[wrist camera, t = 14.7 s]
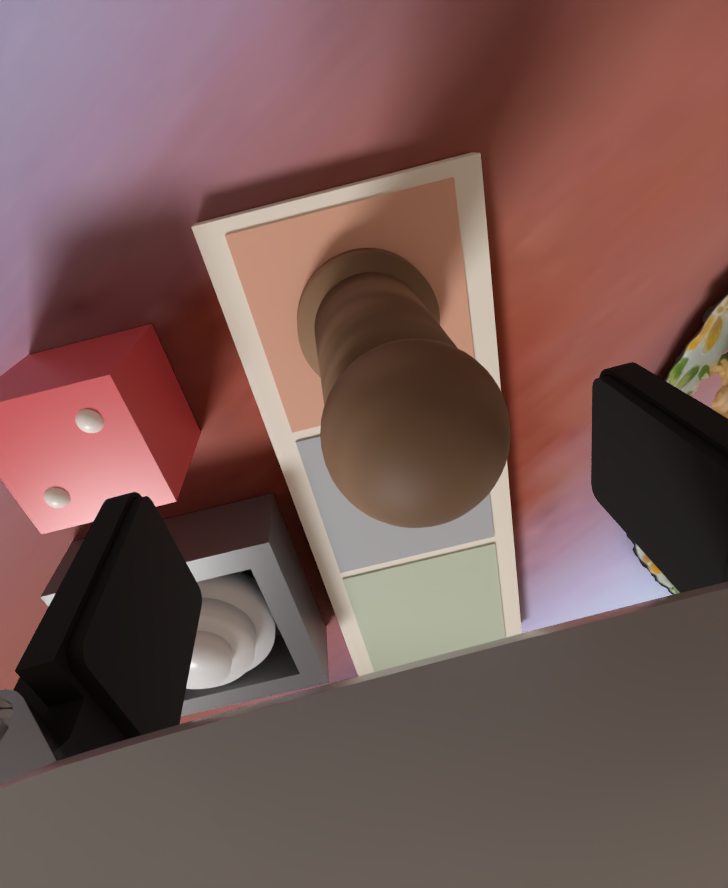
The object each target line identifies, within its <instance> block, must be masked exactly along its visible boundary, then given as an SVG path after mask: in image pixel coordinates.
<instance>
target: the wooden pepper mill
mask: <svg viewBox="0 0 728 888" xmlns="http://www.w3.org/2000/svg"><path fill="white" fill-rule="evenodd" d="M297 330H298V339H299V343H300V347H301V350H302V352H303V355H304V357H305V359H306V361H307V362H308V364H309V365H310V367H311V368H312V369H313V371H314V372H315V373H316V374H317V375H318V376H319V377H320V378H321V385H322V392H323V400H324V409H323V413H322V418H321V430H320V440H321V449H322V453H323V457H324V461H325V465H326V467H327V469H328V472H329V474H330V476H331V478H332V480H333V482H334V483H335V485H336V486H337V488H338V489H339V490H340V492H341V493H342V494H343V495H344V496H345V497H346V499H347V500H348V501H349V502H350V503H351V504H353V505H354V506H355V507H356V508H357V509H359V510H360V511H362V512H363V513H365V514H366V515H368V516H369V517H372V518H374V519H376V520H378V521H381V522H384V523H387V524H390V525H393V526H398V527H405V528H425V527H433V526H437V525H441V524H445V523H448V522H450V521H453V520H455V519H457V518H459V517H461V516H463V515H465V514H466V513H468V512H469V511H470V510H472V509H473V508H474V507H476V506H477V505H478V504H479V503H480V502H482V501H483V500H484V498H485V497H486V496H487V495H488V494H489V493H490V492H491V490H492V489H493V488H494V486H495V485H496V483H497V481H498V480H499V478H500V476H501V474H502V472H503V469H504V467H505V465H506V461H507V458H508V454H509V448H510V441H511V427H510V418H509V412H508V409H507V406H506V403H505V400H504V397H503V394H502V392H501V390H500V389H499V387H498V385H497V383H496V382H495V380H494V379H493V377H492V376H491V375H490V373H489V372H488V371H487V370H486V369H485V368H484V367H483V366H482V365H481V364H480V363H479V362H478V361H477V360H476V359H474V358H473V357H472V356H470V355H469V354H467V353H466V352H464V351H462V350H460V349H458V348H457V346H456V345H455V344H454V343H453V341H452V340H451V339H450V338H449V336H448V335H447V334H446V333H445V331H444V330H443V329H442V327H441V326H440V311H439V306H438V302H437V299H436V296H435V293H434V291H433V289H432V287H431V286H430V284H429V283H428V281H427V280H426V279H425V277H424V276H423V275H422V274H421V273H420V272H419V271H418V270H417V269H416V268H415V267H414V266H413V265H412V264H411V263H410V262H409V261H407V260H406V259H405V258H403V257H401V256H399V255H397V254H395V253H393V252H390V251H387V250H383V249H378V248H358V249H353V250H349V251H346V252H343V253H340V254H338V255H336V256H334V257H332V258H331V259H329V260H328V261H327V262H325V263H324V264H323V265H321V266H320V267H319V268H318V269H317V270H316V271H315V272H314V274H313V275H312V276H311V277H310V279H309V280H308V282H307V284H306V285H305V287H304V289H303V292H302V294H301V297H300V300H299V304H298V310H297Z"/></svg>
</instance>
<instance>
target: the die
mask: <svg viewBox="0 0 728 888" xmlns="http://www.w3.org/2000/svg"><path fill="white" fill-rule="evenodd" d="M200 434H201V432H200V429H199V427H198V425H197V423H196V420H195V418H194V416H193V414H192V412H191V409H190V407H189V405H188V403H187V401H186V398H185V396H184V394H183V392H182V390H181V387H180V385H179V383H178V381H177V379H176V376H175V374H174V372H173V370H172V367H171V365H170V363H169V361H168V359H167V356H166V354H165V352H164V350H163V348H162V345H161V343H160V341H159V339H158V337H157V334H156V332H155V330H154V328H153V326H152V324H149V325H145V326H141V327H137V328H133V329H129V330H125V331H121V332H117V333H113V334H109V335H105V336H101V337H97V338H93V339H89V340H85V341H81V342H77V343H73V344H69V345H65V346H61V347H57V348H53V349H49V350H45V351H42V352H38V353H34V354H30V355H27V356H26V357H25V358H23V359H22V360H21V361H20V362H18V363H17V364H16V365H15V366H13V367H12V368H11V369H9V370H8V371H7V372H6V373H4V374H3V375H2V376H0V479H1V480H2V482H3V483H4V484H5V486H6V487H7V488H8V490H9V491H10V492H11V494H12V495H13V496H14V498H15V499H16V501H17V502H18V503H19V505H20V506H21V507H22V509H23V510H24V511H25V513H26V514H27V515H28V517H29V518H30V520H31V521H32V522H33V524H34V525H35V526H36V528H37V529H38V530H39V532H40V533H41V534H45V533H49V532H53V531H57V530H62V529H66V528H70V527H74V526H78V525H82V524H86V523H90V522H94V520H95V518H96V516H97V514H98V512H99V510H100V508H101V506H102V504H103V503H104V501H105V500H106V499H109V498H113V497H116V496H120V495H124V494H128V493H132V492H137V493H139V494H140V495H141V496H142V497H144V496H148V497H149V498H150V499H151V500H152V501H153V503H154V505H155V507H156V506H161V505H165V504H169V503H173V502H177V499H178V496H179V493H180V490H181V488H182V485H183V482H184V479H185V476H186V473H187V471H188V468H189V465H190V462H191V459H192V456H193V453H194V451H195V448H196V445H197V442H198V439H199V436H200Z"/></svg>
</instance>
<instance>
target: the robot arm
mask: <svg viewBox="0 0 728 888" xmlns="http://www.w3.org/2000/svg"><path fill="white" fill-rule="evenodd" d="M591 485H592V490H593V493H594V496H595V498H596V499H597V501H598V502H599V503H600V504H601V505H602V506H603V507H604V509H605V510H606V511H607V512H608V513H609V514H610V515H611V516H612V517H613V519H614V520H615V521H616V522H617V523H618V524H619V525H620V526H621V528H622V529H623V530H624V531H625V532H626V533H627V534H628V535H629V537H630V538H631V539H632V540H633V541H634V542H635V543H636V544H637V545H638V547H639V548H640V549H641V550H642V551H643V552H644V553H645V554H646V556H647V557H648V558H649V559H650V560H651V561H652V562H653V563H654V564H655V566H656V567H657V568H658V569H659V570H660V571H661V572H662V573H663V575H664V576H665V577H666V578H667V579H668V580H669V581H670V582H671V583H672V585H673V586H674V587H675V588H676V589H677V590H678V591H679V592H680V593H678V594H674V595H670V596H666V597H662V598H658V599H655V600H651V601H647V602H643V603H639V604H635V605H631V606H627V607H623V608H619V609H615V610H612V611H608V612H604V613H600V614H596V615H592V616H588V617H584V618H580V619H576V620H572V621H569V622H565V623H561V624H557V625H553V626H549V627H545V628H541V629H537V630H533V631H529V632H526V633H522V634H518V635H514V636H510V637H506V638H503V639H499V640H495V641H491V642H487V643H483V644H480V645H476V646H472V647H468V648H464V649H460V650H457V651H453V652H449V653H445V654H441V655H437V656H434V657H430V658H426V659H422V660H418V661H415V662H411V663H407V664H403V665H399V666H396V667H392V668H388V669H384V670H380V671H376V672H373V673H369V674H365V675H361V676H357V677H354V678H350V679H346V680H342V681H339V682H335V683H331V684H327V685H324V686H320V687H316V688H312V689H309V690H305V691H301V692H298V693H294V694H290V695H286V696H283V697H279V698H275V699H271V700H268V701H264V702H260V703H256V704H253V705H249V706H245V707H241V708H238V709H234V710H230V711H227V712H223V713H219V714H215V715H212V716H208V717H204V718H201V719H197V720H193V721H190V722H186V723H183V724H179V723H180V718H181V713H182V707H183V702H184V697H185V692H186V686H187V681H188V676H189V670H190V665H191V660H192V654H193V649H194V644H195V639H196V633H197V628H198V623H199V617H200V612H201V607H202V594H201V590H200V587H199V585H198V583H197V582H196V580H195V578H194V576H193V574H192V572H191V571H190V569H189V567H188V565H187V563H186V561H185V560H184V558H183V556H182V554H181V552H180V551H179V549H178V547H177V545H176V543H175V541H174V540H173V538H172V536H171V534H170V532H169V530H168V529H167V527H166V525H165V523H164V521H163V520H162V518H161V516H160V514H159V512H158V510H157V509H156V507H155V505H154V503H153V501H152V500H151V499H150V498H149V497H148V496H144V497H142V496H141V495H140V494H139V493H137V492H132V493H128V494H124V495H120V496H116V497H113V498H109V499H106V500H105V501H104V503H103V504H102V506H101V508H100V510H99V512H98V514H97V516H96V518H95V520H94V522H93V523H92V525H91V527H90V529H89V531H88V533H87V535H86V537H85V539H84V541H83V542H82V544H81V546H80V548H79V550H78V552H77V554H76V556H75V558H74V560H73V561H72V563H71V565H70V567H69V569H68V571H67V573H66V575H65V577H64V579H63V580H62V582H61V584H60V586H59V588H58V590H57V592H56V594H55V596H54V598H53V599H52V601H51V603H50V605H49V607H48V609H47V611H46V613H45V615H44V617H43V618H42V620H41V622H40V624H39V626H38V628H37V630H36V632H35V634H34V636H33V637H32V639H31V641H30V643H29V645H28V647H27V649H26V651H25V653H24V655H23V656H22V658H21V660H20V662H19V664H18V666H17V668H16V670H15V672H16V673H17V674H18V675H19V676H20V678H19V680H18V682H17V684H16V686H15V688H14V690H8V689H4V690H0V888H728V418H726V417H724V416H723V415H721V414H719V413H718V412H716V411H714V410H713V409H711V408H709V407H708V406H706V405H704V404H703V403H701V402H699V401H698V400H696V399H694V398H693V397H691V396H689V395H688V394H686V393H684V392H683V391H681V390H679V389H678V388H676V387H674V386H673V385H671V384H669V383H668V382H666V381H664V380H663V379H661V378H660V377H658V376H656V375H655V374H653V373H651V372H650V371H648V370H646V369H645V368H643V367H641V366H640V365H638V364H636V363H633V362H632V363H627V364H623V365H619V366H615V367H612V368H608V369H604V370H603V371H602V372H601V374H600V377H599V378H597V379H595V380H594V382H593V388H592V469H591Z"/></svg>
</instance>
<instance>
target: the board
mask: <svg viewBox="0 0 728 888" xmlns="http://www.w3.org/2000/svg"><path fill="white" fill-rule="evenodd" d="M191 228H192V230H193V233H194V236H195V238H196V241H197V244H198V246H199V249H200V252H201V254H202V257H203V260H204V262H205V265H206V268H207V271H208V273H209V276H210V279H211V281H212V284H213V287H214V289H215V292H216V295H217V297H218V300H219V303H220V305H221V308H222V311H223V314H224V316H225V319H226V322H227V324H228V327H229V330H230V332H231V335H232V338H233V340H234V343H235V346H236V348H237V351H238V354H239V357H240V359H241V362H242V365H243V367H244V370H245V373H246V375H247V378H248V381H249V383H250V386H251V389H252V391H253V394H254V397H255V400H256V402H257V405H258V408H259V410H260V413H261V416H262V418H263V421H264V424H265V426H266V429H267V432H268V434H269V437H270V440H271V443H272V445H273V448H274V451H275V453H276V456H277V459H278V461H279V464H280V467H281V469H282V472H283V475H284V477H285V480H286V483H287V486H288V488H289V491H290V494H291V496H292V499H293V502H294V504H295V507H296V510H297V512H298V515H299V518H300V521H301V523H302V526H303V529H304V531H305V534H306V537H307V539H308V542H309V545H310V547H311V550H312V553H313V555H314V558H315V561H316V564H317V566H318V569H319V572H320V574H321V577H322V580H323V582H324V585H325V588H326V590H327V593H328V596H329V598H330V601H331V604H332V607H333V609H334V612H335V615H336V617H337V620H338V623H339V625H340V628H341V631H342V633H343V636H344V639H345V641H346V644H347V647H348V650H349V652H350V655H351V658H352V660H353V663H354V666H355V668H356V671H357V674H358V676H361V675H365V674H369V673H373V672H376V671H380V670H384V669H388V668H392V667H396V666H399V665H403V664H407V663H411V662H415V661H418V660H422V659H426V658H430V657H434V656H437V655H441V654H445V653H449V652H453V651H457V650H460V649H464V648H468V647H472V646H476V645H480V644H483V643H487V642H491V641H495V640H499V639H503V638H506V637H510V636H514V635H518V634H522V630H521V619H520V607H519V595H518V584H517V572H516V560H515V549H514V537H513V525H512V514H511V502H510V490H509V478H508V467H507V461H506V465H505V467H504V469H503V472H502V474H501V476H500V478H499V480H498V481H497V483H496V485H495V486H494V488H493V489H492V490H491V492H490V493H489V494H488V495H487V496H486V497H485V498H484V500H483V501H482V502H480V503H479V504H478V505H477V506H476V507H474V508H473V509H472V510H470V511H469V512H468V513H466V514H465V515H463V516H461V517H459V518H457V519H455V520H453V521H450V522H448V523H445V524H441V525H437V526H433V527H425V528H405V527H398V526H393V525H390V524H387V523H384V522H381V521H378V520H376V519H374V518H372V517H369V516H368V515H366V514H365V513H363V512H362V511H360V510H359V509H357V508H356V507H355V506H354V505H353V504H351V503H350V502H349V501H348V500H347V499H346V497H345V496H344V495H343V494H342V493H341V492H340V490H339V489H338V488H337V486H336V485H335V483H334V482H333V480H332V478H331V476H330V474H329V472H328V469H327V467H326V465H325V461H324V457H323V453H322V449H321V440H320V430H321V418H322V413H323V409H324V400H323V392H322V385H321V378H320V377H319V376H318V375H317V374H316V373H315V372H314V371H313V369H312V368H311V367H310V365H309V364H308V362H307V361H306V359H305V357H304V355H303V352H302V350H301V347H300V343H299V339H298V330H297V310H298V304H299V300H300V297H301V294H302V292H303V289H304V287H305V285H306V284H307V282H308V280H309V279H310V277H311V276H312V275H313V274H314V272H315V271H316V270H317V269H318V268H319V267H320V266H321V265H323V264H324V263H325V262H327V261H328V260H329V259H331V258H332V257H334V256H336V255H338V254H340V253H343V252H346V251H349V250H353V249H358V248H378V249H383V250H387V251H390V252H393V253H395V254H397V255H399V256H401V257H403V258H405V259H406V260H407V261H409V262H410V263H411V264H412V265H413V266H414V267H415V268H416V269H417V270H418V271H419V272H420V273H421V274H422V275H423V276H424V277H425V279H426V280H427V281H428V283H429V284H430V286H431V287H432V289H433V291H434V293H435V296H436V299H437V302H438V306H439V311H440V326H441V327H442V329H443V330H444V331H445V333H446V334H447V335H448V336H449V338H450V339H451V340H452V341H453V343H454V344H455V345H456V346H457V348H458V349H460V350H462V351H464V352H466V353H467V354H469V355H470V356H472V357H473V358H474V359H476V360H477V361H478V362H479V363H480V364H481V365H482V366H483V367H484V368H485V369H486V370H487V371H488V372H489V373H490V375H491V376H492V377H493V379H494V380H495V382H496V383H497V385H498V387H499V389H500V390H501V385H500V373H499V362H498V350H497V338H496V327H495V315H494V303H493V291H492V280H491V268H490V256H489V245H488V233H487V221H486V210H485V198H484V186H483V175H482V163H481V153H476V152H471V153H467V154H463V155H459V156H456V157H452V158H448V159H444V160H440V161H436V162H432V163H428V164H424V165H420V166H417V167H413V168H409V169H405V170H401V171H397V172H393V173H389V174H385V175H381V176H378V177H374V178H370V179H366V180H362V181H358V182H354V183H350V184H346V185H342V186H339V187H335V188H331V189H327V190H323V191H319V192H315V193H311V194H307V195H303V196H300V197H296V198H292V199H288V200H284V201H280V202H276V203H272V204H268V205H264V206H261V207H257V208H253V209H249V210H245V211H241V212H237V213H233V214H229V215H225V216H222V217H218V218H214V219H210V220H206V221H202V222H198V223H196V224H195V225H193V226H192V227H191Z"/></svg>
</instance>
